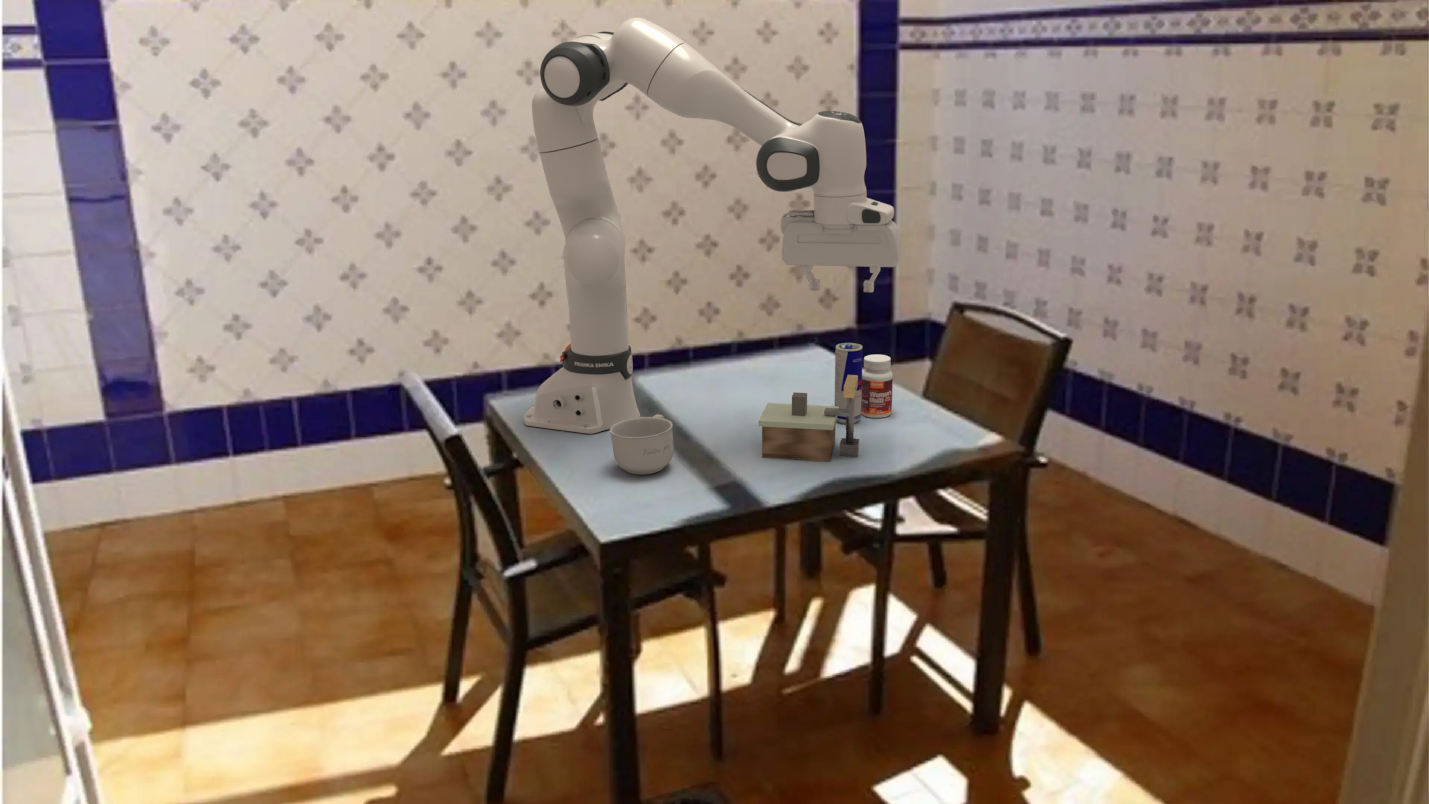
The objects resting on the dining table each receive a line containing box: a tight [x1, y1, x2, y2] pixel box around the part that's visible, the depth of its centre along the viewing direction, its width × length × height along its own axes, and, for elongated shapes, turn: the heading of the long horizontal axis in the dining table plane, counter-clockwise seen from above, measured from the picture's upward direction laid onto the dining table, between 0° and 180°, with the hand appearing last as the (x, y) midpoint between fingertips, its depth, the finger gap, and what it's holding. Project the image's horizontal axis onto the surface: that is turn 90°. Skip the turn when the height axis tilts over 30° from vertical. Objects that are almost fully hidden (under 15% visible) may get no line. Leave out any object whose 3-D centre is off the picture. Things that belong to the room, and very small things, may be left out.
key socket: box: [839, 437, 860, 458], centre depth 211 cm, size 3×3×2 cm
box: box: [761, 421, 837, 462], centre depth 212 cm, size 12×9×6 cm
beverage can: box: [834, 342, 864, 425], centre depth 226 cm, size 5×5×15 cm
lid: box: [758, 392, 839, 430], centre depth 211 cm, size 13×10×5 cm
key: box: [824, 375, 858, 442], centre depth 209 cm, size 5×7×11 cm
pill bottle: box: [861, 354, 894, 419], centre depth 230 cm, size 6×6×11 cm
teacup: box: [609, 413, 675, 476], centre depth 206 cm, size 14×11×8 cm
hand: (841, 290), depth 204 cm, fingers open, 8 cm apart
